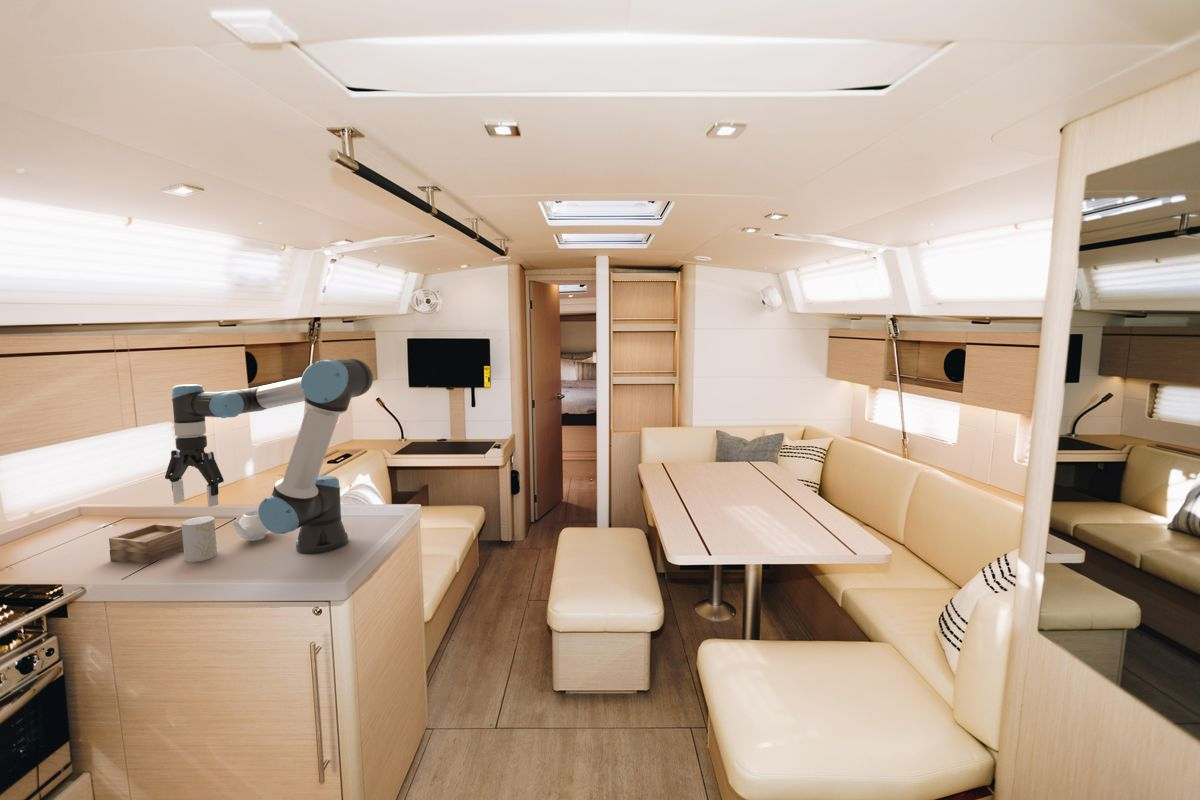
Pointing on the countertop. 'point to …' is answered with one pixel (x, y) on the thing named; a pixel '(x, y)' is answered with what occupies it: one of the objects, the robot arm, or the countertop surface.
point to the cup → (199, 538)
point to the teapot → (250, 526)
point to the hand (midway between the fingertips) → (195, 503)
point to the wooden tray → (147, 538)
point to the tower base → (146, 554)
